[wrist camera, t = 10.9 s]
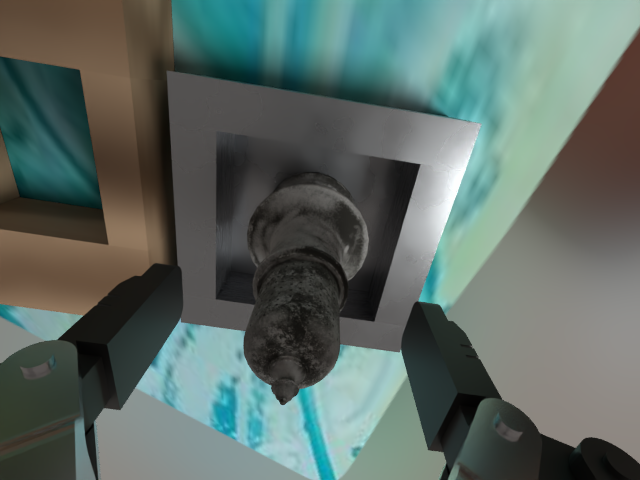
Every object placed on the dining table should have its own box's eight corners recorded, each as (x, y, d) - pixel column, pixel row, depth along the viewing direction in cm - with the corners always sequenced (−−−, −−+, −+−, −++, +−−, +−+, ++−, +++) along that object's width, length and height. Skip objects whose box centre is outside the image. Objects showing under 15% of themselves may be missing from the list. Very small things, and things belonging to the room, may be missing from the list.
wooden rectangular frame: (-108, -93, 13) (-269, -161, 10) (169, -43, 14) (112, -90, 10) (9, 261, 21) (-56, 296, 18) (184, 286, 22) (155, 325, 18)
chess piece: (248, 238, 19) (135, 437, 8) (283, 148, 16) (192, 257, 6) (335, 274, 20) (340, 496, 9) (380, 193, 17) (463, 363, 6)
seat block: (203, 75, 16) (166, 70, 12) (448, 116, 16) (481, 123, 13) (205, 283, 22) (181, 322, 18) (388, 309, 22) (399, 352, 18)
